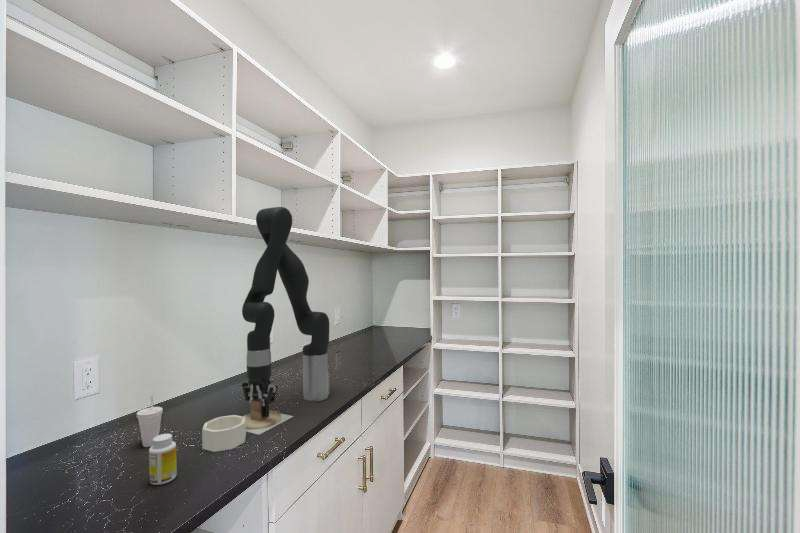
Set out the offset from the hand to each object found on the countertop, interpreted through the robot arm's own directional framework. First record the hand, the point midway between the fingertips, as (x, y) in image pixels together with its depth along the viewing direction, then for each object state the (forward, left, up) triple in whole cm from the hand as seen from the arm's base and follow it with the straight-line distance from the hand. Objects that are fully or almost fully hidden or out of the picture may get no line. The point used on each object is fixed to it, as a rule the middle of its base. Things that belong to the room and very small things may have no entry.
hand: (259, 414), depth 123 cm
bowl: (+15, +2, -3) cm, 15 cm away
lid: (0, 0, -2) cm, 2 cm away
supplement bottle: (+34, +4, -3) cm, 34 cm away
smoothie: (+24, -18, -3) cm, 30 cm away
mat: (0, 0, -3) cm, 3 cm away
